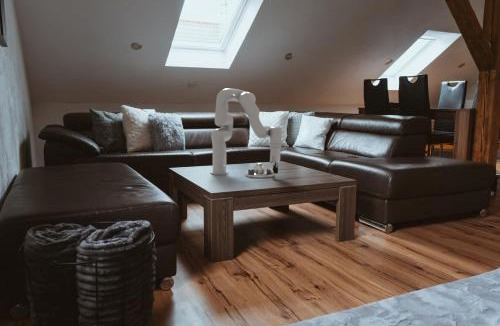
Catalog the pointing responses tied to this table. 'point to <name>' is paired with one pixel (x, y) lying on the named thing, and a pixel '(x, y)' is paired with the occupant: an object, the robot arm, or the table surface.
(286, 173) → the table surface
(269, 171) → the footscrew knob
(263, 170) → the tribrach
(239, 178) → the table surface
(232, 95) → the robot arm
